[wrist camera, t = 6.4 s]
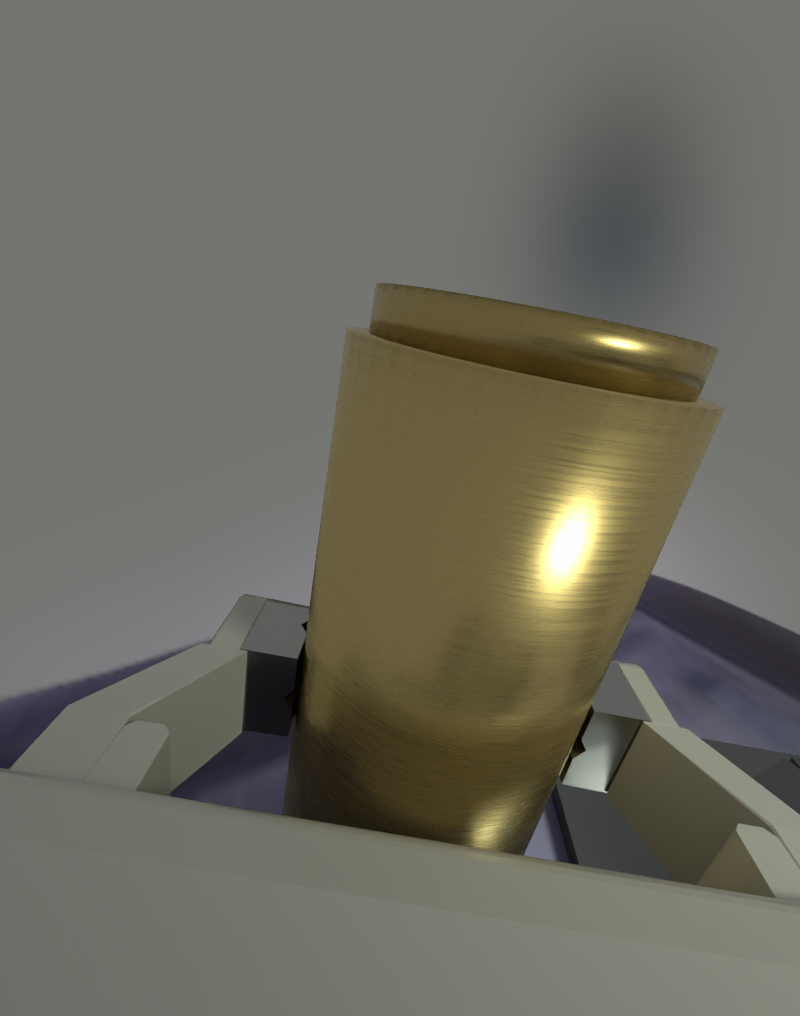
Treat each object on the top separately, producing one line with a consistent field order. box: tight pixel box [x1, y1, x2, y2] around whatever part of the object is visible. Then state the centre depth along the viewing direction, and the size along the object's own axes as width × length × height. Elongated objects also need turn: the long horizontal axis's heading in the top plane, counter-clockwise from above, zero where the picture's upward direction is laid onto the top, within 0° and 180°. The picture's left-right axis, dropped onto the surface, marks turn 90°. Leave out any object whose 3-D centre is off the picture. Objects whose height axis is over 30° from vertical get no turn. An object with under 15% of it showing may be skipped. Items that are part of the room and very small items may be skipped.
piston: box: [282, 283, 725, 856], centre depth 9 cm, size 5×5×15 cm
